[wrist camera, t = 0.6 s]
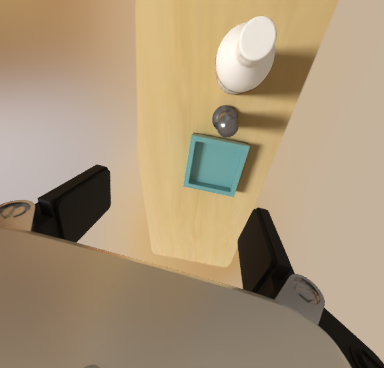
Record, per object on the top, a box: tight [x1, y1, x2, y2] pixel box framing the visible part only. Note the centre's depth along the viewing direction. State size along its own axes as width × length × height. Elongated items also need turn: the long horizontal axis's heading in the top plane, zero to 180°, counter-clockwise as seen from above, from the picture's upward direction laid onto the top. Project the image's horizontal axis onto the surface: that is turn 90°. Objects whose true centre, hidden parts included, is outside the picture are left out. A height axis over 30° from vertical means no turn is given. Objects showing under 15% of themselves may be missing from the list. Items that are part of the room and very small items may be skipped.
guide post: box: [212, 105, 238, 137], centre depth 30 cm, size 5×5×12 cm
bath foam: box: [216, 16, 276, 95], centre depth 22 cm, size 7×7×20 cm
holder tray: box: [184, 133, 250, 197], centre depth 38 cm, size 12×12×3 cm
